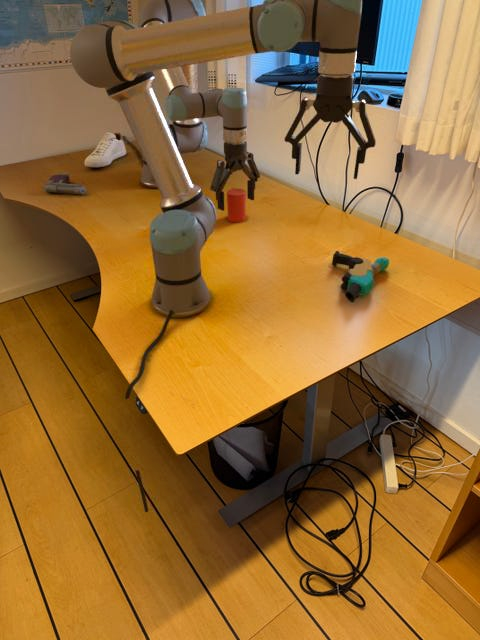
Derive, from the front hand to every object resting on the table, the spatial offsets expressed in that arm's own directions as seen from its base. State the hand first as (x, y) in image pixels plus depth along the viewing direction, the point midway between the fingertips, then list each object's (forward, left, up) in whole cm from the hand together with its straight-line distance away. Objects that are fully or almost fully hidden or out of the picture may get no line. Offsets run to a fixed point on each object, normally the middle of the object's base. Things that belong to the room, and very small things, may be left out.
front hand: (326, 174), depth 112 cm
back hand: (+45, +25, -26) cm, 58 cm away
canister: (+45, +25, -31) cm, 60 cm away
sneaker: (+105, +92, -31) cm, 143 cm away
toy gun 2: (+4, -10, -31) cm, 33 cm away
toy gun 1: (+70, +96, -31) cm, 123 cm away
